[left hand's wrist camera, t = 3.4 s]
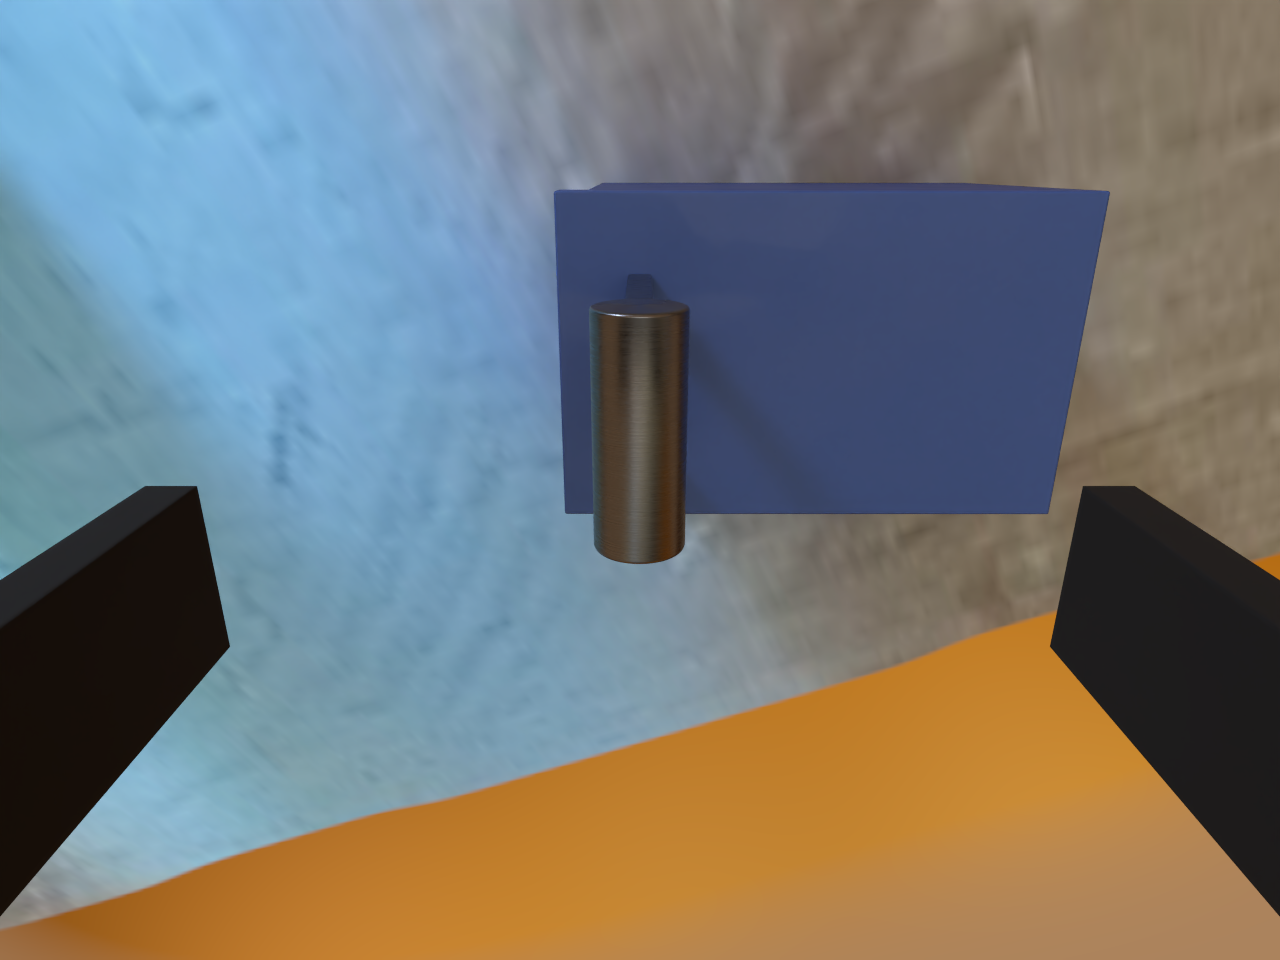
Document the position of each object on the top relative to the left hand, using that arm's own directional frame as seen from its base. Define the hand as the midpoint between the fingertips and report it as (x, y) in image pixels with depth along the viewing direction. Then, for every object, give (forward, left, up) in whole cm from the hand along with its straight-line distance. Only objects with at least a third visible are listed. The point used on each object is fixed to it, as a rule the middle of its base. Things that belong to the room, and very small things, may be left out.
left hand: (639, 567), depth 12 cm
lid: (+5, 0, -15) cm, 16 cm away
